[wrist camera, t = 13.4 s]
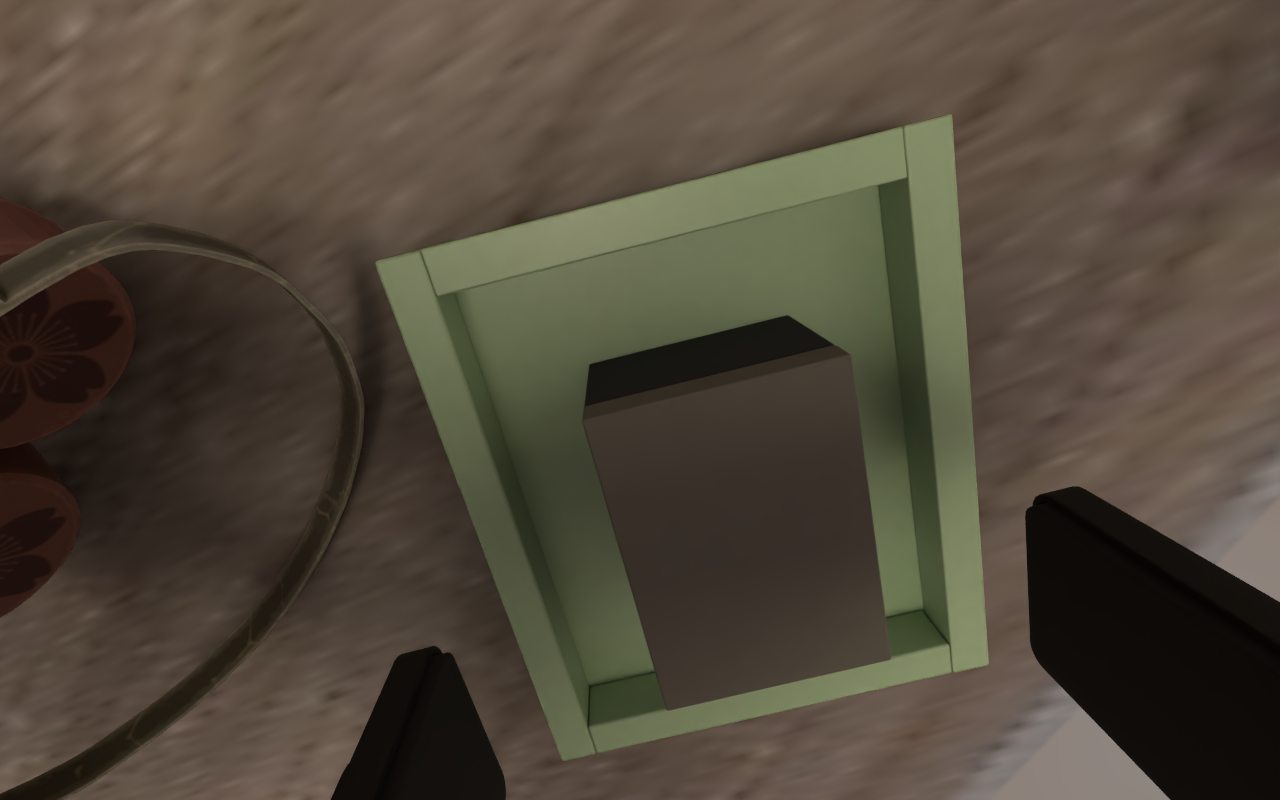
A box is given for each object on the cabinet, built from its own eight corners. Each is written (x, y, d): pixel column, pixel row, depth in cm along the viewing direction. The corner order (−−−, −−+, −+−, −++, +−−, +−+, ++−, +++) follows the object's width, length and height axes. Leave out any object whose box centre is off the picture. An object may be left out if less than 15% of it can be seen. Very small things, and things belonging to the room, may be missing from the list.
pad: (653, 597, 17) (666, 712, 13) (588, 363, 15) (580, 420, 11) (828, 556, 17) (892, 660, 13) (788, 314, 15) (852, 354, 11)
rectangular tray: (567, 692, 19) (561, 762, 17) (410, 251, 15) (372, 261, 12) (941, 606, 19) (990, 665, 16) (896, 127, 14) (952, 112, 12)
